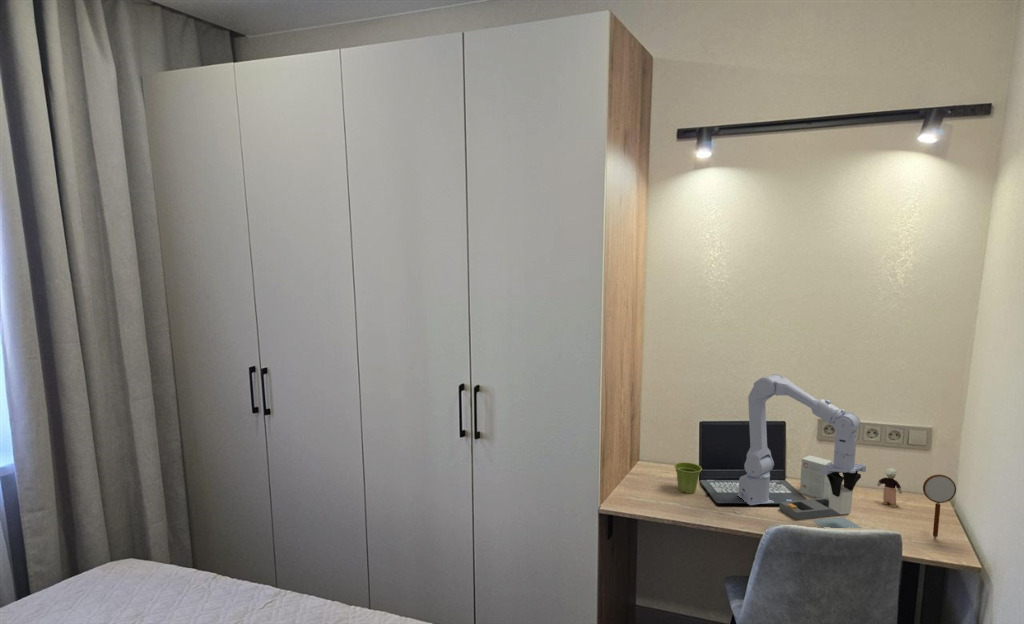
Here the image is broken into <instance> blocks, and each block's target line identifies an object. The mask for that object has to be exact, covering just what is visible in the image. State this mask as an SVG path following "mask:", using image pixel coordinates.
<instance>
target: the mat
mask: <svg viewBox="0 0 1024 624" xmlns="http://www.w3.org/2000/svg"><path fill="white" fill-rule="evenodd" d="M811 521H812V522H813V523H815V524H817V525H819V526H820V527H821V528H823V527H830V528H849V527H850V528H852V527H853V528H863V527H862V526H861V525H858V524H857V523H855V522H853V521H852V520H849V519H848V518H846V517H844V516H838V517H829V518H828V517H827V518H816V519H811Z"/></svg>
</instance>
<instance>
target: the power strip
mask: <svg viewBox="0 0 1024 624" xmlns="http://www.w3.org/2000/svg"><path fill="white" fill-rule="evenodd" d="M829 498H830V496H829V497H827V498H809V499H799V500H789V501H780V502H779V511H780V512H782V513H784V514H785V515H787V516H788V517H790V518H791V519H793V520H795V521H805V520H815V519H824V518H828V517H829V518H833V517H842V516H847V515H848V516H849V514H850V513H849V514H839V513H838V512H836V511H834V510H833V509H831V508H830V507H829Z"/></svg>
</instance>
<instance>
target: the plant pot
mask: <svg viewBox="0 0 1024 624" xmlns="http://www.w3.org/2000/svg"><path fill="white" fill-rule="evenodd" d="M674 468H675V471H676V479H677V480H676V481H677V489H678V491H680V492H681V493H686V494H694V493H696V491H697V488H698V482H699V477H700V475H701V472H702V470H703V468H702V466H701V465H699V464H696V463H692V462H677V463H675V464H674Z"/></svg>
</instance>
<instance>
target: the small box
mask: <svg viewBox="0 0 1024 624" xmlns="http://www.w3.org/2000/svg"><path fill="white" fill-rule="evenodd" d="M830 464H833V461H832V460H830V459H827V458H826V459H825V458H821V457H819V456H814V455H810V454H809V455H806V456H804V457H803V458H801V469H800V484H799V493H800V494H803V495H806V496H809V497H813V498H814V499H817V498H827V497H830V488H831V485H830V482H829V479H828V477H827V475H825V474H823V473H821V467H823V466H827V465H830Z"/></svg>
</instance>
